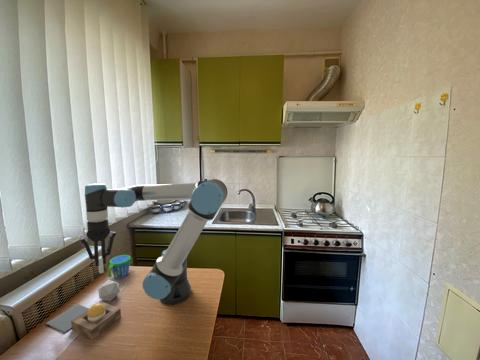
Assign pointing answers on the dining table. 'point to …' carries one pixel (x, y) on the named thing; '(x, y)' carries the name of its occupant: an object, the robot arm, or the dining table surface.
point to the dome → (96, 312)
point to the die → (109, 290)
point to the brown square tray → (94, 329)
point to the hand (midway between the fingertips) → (101, 271)
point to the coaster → (67, 318)
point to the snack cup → (119, 266)
